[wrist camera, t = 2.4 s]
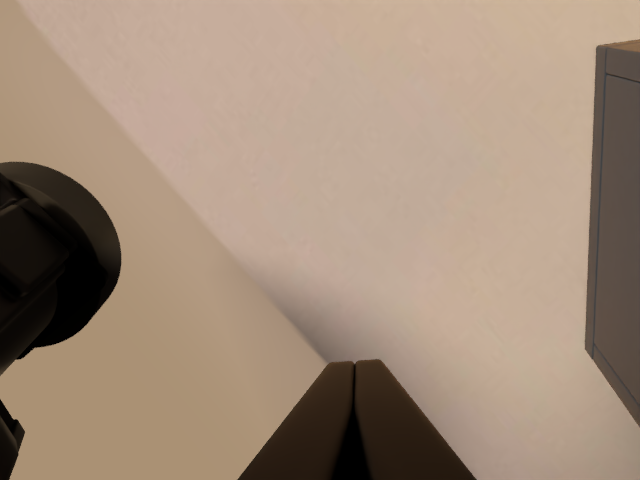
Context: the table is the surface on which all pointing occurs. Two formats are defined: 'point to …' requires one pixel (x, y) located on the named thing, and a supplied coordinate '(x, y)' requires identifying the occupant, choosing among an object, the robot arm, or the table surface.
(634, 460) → the table surface
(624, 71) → the open box
